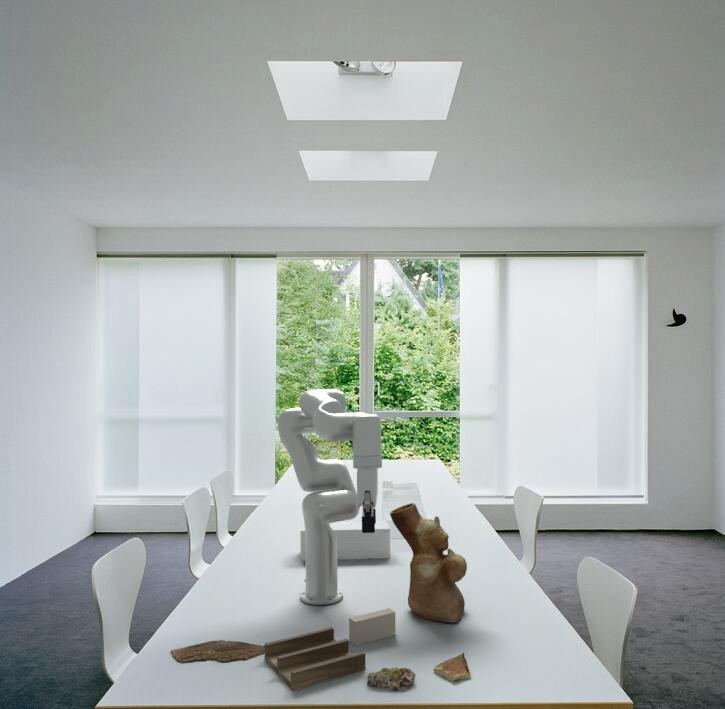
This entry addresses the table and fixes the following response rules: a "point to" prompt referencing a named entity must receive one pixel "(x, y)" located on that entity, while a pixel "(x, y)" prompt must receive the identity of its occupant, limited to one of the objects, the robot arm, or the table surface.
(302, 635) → the walnut rack
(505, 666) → the table surface
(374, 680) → the mineral rock
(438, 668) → the shard
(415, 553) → the ceramic vessel
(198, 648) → the wooden fragment
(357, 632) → the strip
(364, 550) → the white long block
